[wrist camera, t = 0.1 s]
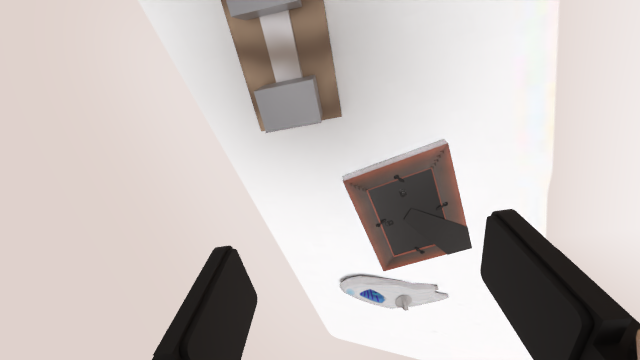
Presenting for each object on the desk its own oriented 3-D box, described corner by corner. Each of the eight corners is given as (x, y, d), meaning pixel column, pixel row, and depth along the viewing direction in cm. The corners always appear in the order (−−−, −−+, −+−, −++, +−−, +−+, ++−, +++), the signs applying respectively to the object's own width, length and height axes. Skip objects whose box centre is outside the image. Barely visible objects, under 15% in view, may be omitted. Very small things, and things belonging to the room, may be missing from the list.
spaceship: (335, 290, 57) (336, 308, 53) (341, 268, 54) (342, 286, 50) (439, 305, 57) (447, 324, 54) (451, 284, 54) (460, 303, 51)
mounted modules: (230, -32, 29) (212, -45, 24) (291, -48, 28) (284, -65, 24) (273, 121, 37) (266, 132, 32) (322, 112, 36) (321, 122, 31)
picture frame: (465, 238, 49) (442, 137, 40) (472, 248, 47) (448, 143, 38) (381, 262, 53) (342, 174, 44) (383, 272, 50) (342, 181, 42)
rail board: (214, -34, 31) (205, -40, 29) (313, -62, 29) (311, -70, 27) (263, 128, 40) (259, 133, 38) (341, 113, 38) (341, 118, 36)
